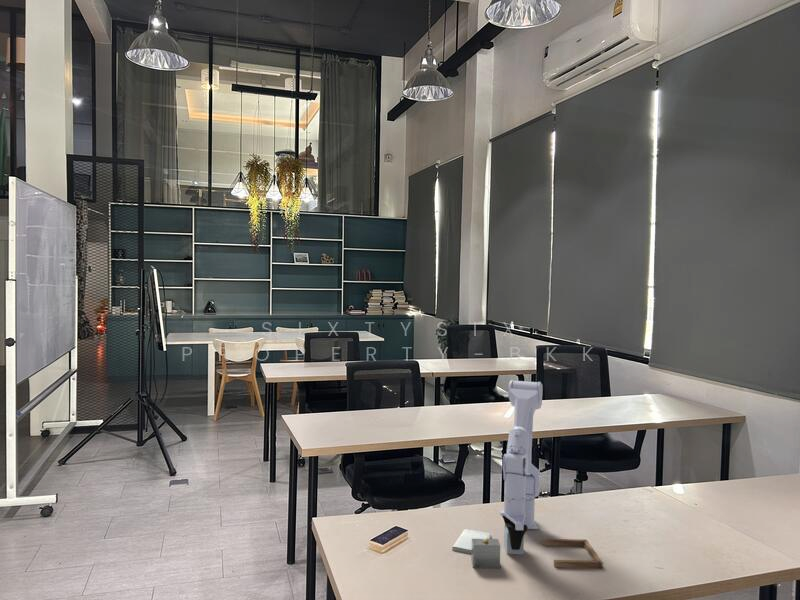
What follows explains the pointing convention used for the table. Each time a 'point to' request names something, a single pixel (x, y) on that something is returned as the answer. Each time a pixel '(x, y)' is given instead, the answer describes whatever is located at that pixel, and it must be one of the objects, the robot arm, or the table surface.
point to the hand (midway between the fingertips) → (513, 544)
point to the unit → (485, 553)
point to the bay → (575, 563)
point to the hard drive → (468, 540)
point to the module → (508, 545)
